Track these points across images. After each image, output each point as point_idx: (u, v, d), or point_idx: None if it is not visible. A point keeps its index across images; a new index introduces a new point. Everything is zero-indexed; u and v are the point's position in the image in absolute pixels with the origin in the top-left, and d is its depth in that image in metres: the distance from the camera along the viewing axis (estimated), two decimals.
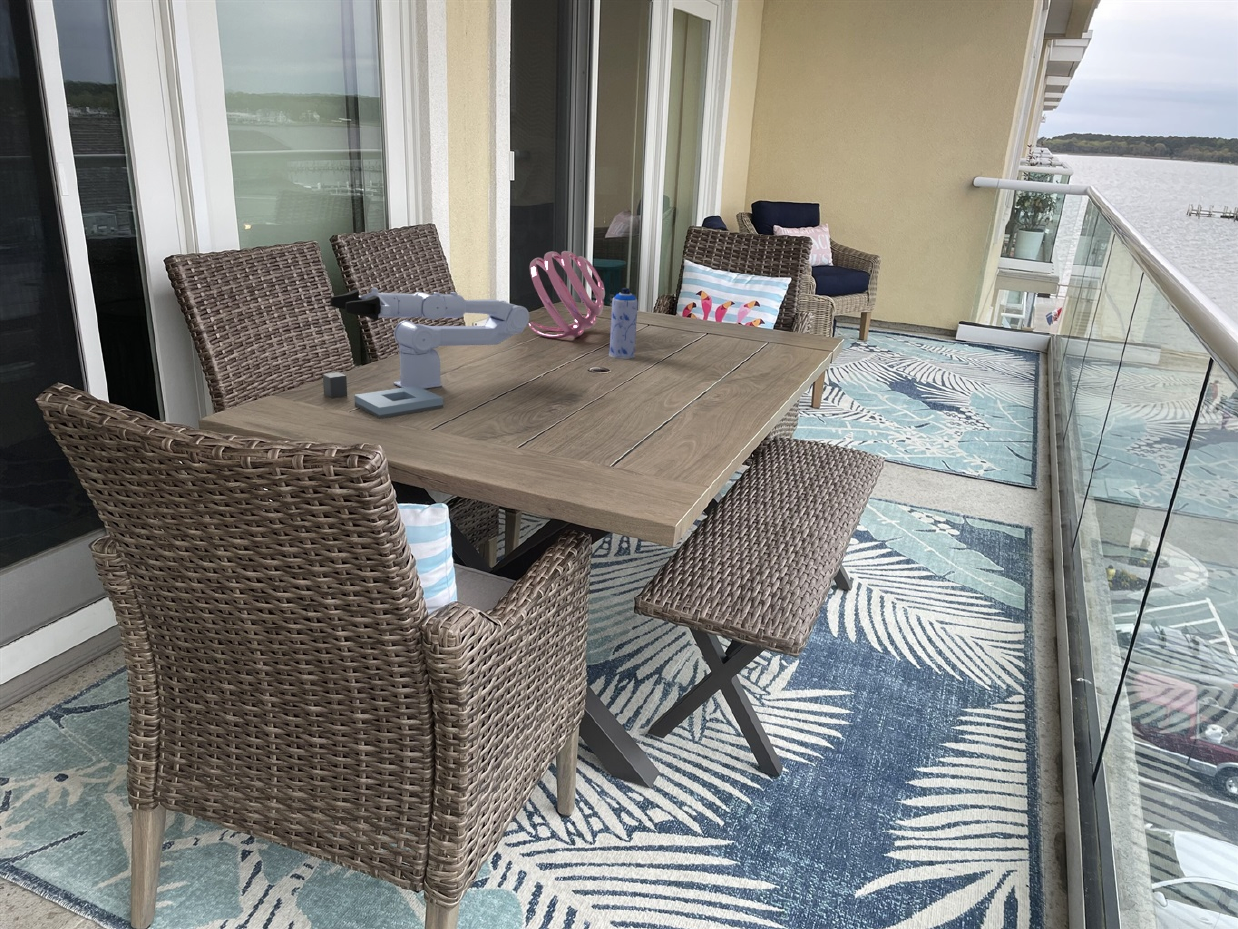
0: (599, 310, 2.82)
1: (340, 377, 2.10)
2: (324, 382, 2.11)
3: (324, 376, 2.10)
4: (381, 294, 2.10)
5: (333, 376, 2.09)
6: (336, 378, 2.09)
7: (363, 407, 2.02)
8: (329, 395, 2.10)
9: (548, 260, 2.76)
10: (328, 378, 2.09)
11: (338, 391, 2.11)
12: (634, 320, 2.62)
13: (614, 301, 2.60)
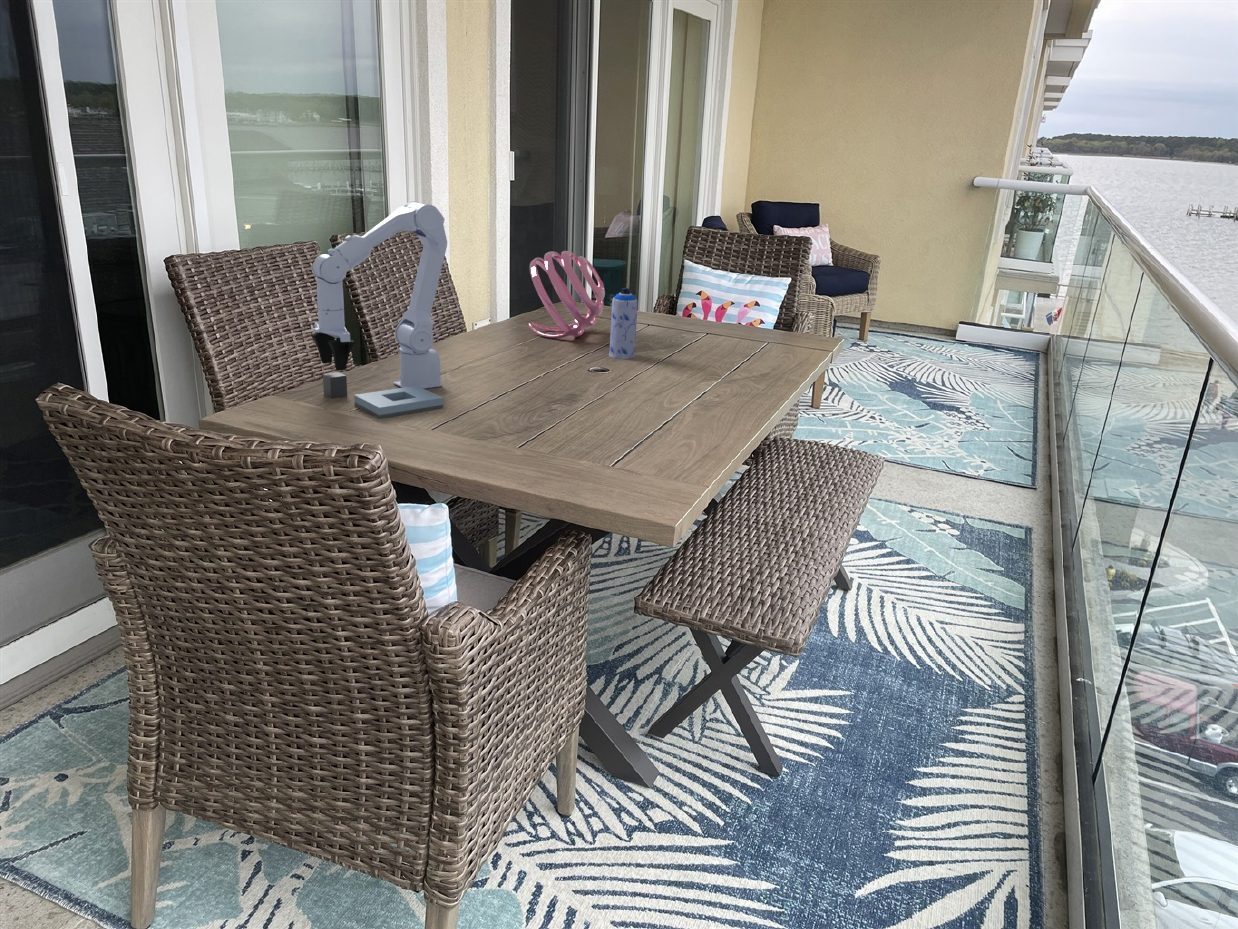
0: (599, 310, 2.82)
1: (340, 377, 2.10)
2: (324, 382, 2.11)
3: (324, 376, 2.10)
4: (322, 325, 2.04)
5: (333, 376, 2.09)
6: (336, 378, 2.09)
7: (363, 407, 2.02)
8: (329, 395, 2.10)
9: (548, 260, 2.76)
10: (328, 378, 2.09)
11: (338, 391, 2.11)
12: (634, 320, 2.62)
13: (614, 301, 2.60)
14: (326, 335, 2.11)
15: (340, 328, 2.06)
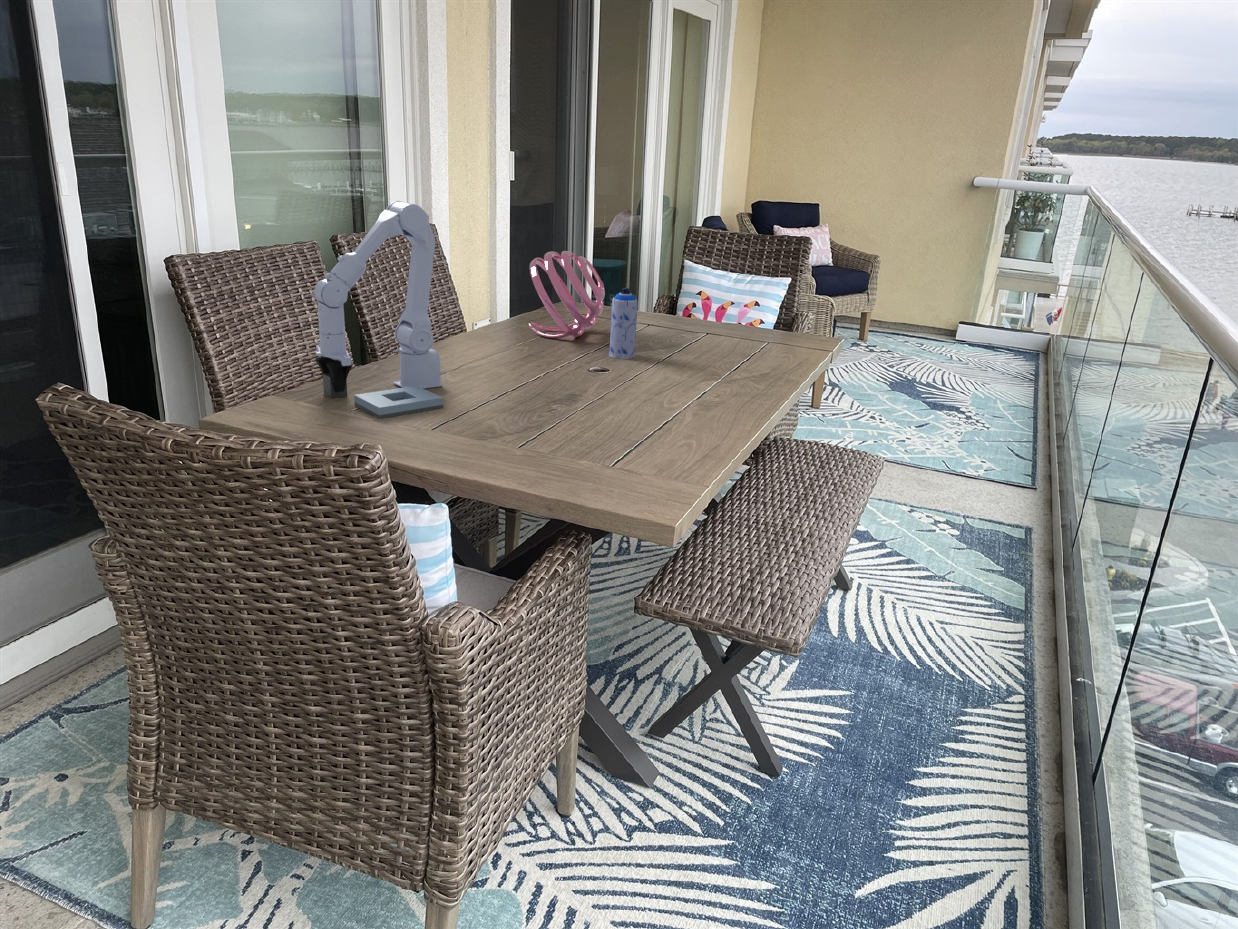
0: (599, 310, 2.82)
1: None
2: (324, 382, 2.11)
3: (324, 376, 2.10)
4: (323, 349, 2.06)
5: None
6: None
7: (363, 407, 2.02)
8: (329, 395, 2.10)
9: (548, 260, 2.76)
10: (328, 378, 2.09)
11: None
12: (634, 320, 2.62)
13: (614, 301, 2.60)
14: (330, 359, 2.11)
15: (341, 352, 2.08)
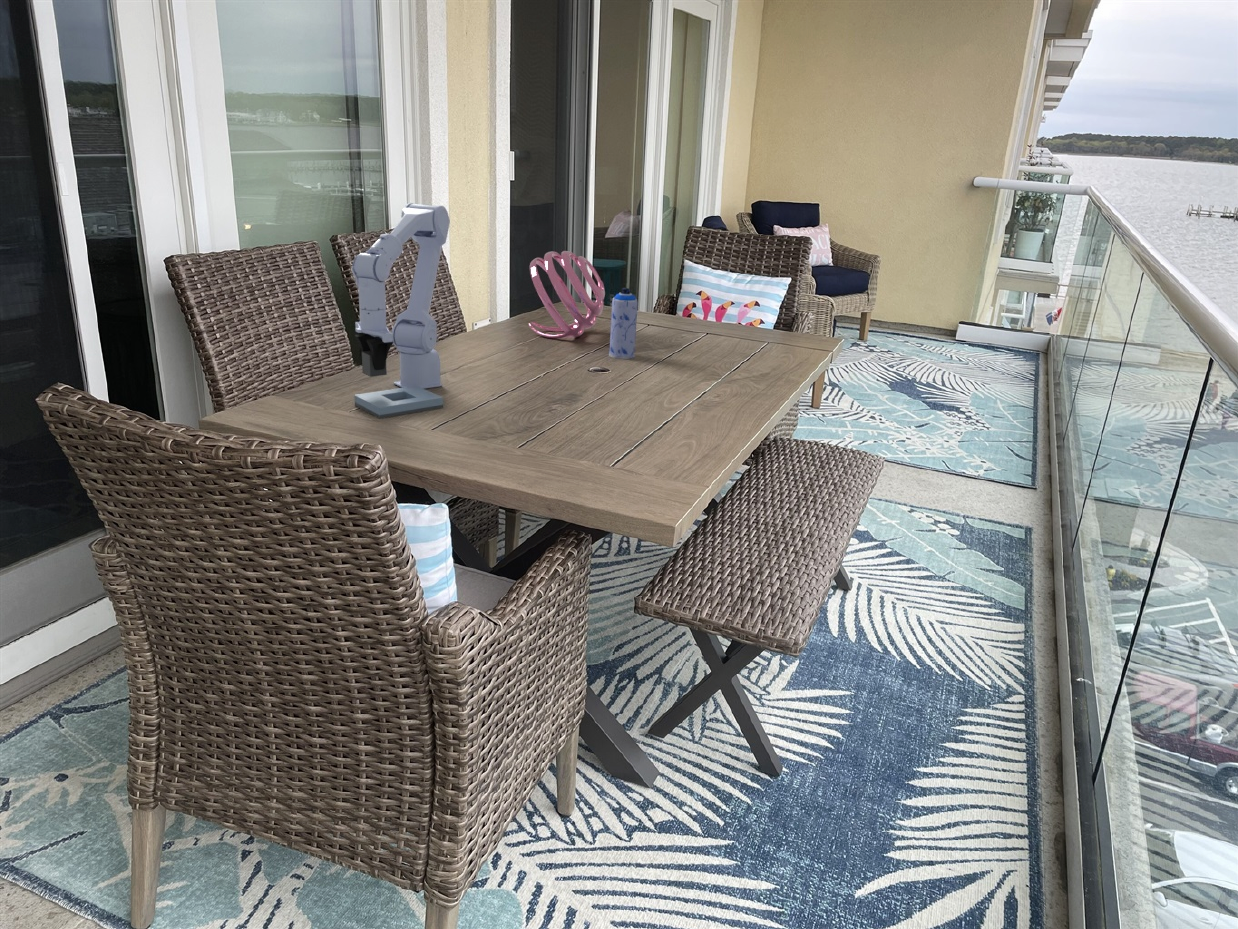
0: (599, 310, 2.82)
1: None
2: (363, 360, 2.05)
3: (363, 354, 2.04)
4: (364, 325, 2.00)
5: None
6: None
7: (363, 407, 2.02)
8: (368, 373, 2.04)
9: (548, 260, 2.76)
10: (367, 356, 2.03)
11: None
12: (634, 320, 2.62)
13: (614, 301, 2.60)
14: (370, 336, 2.05)
15: (382, 328, 2.01)
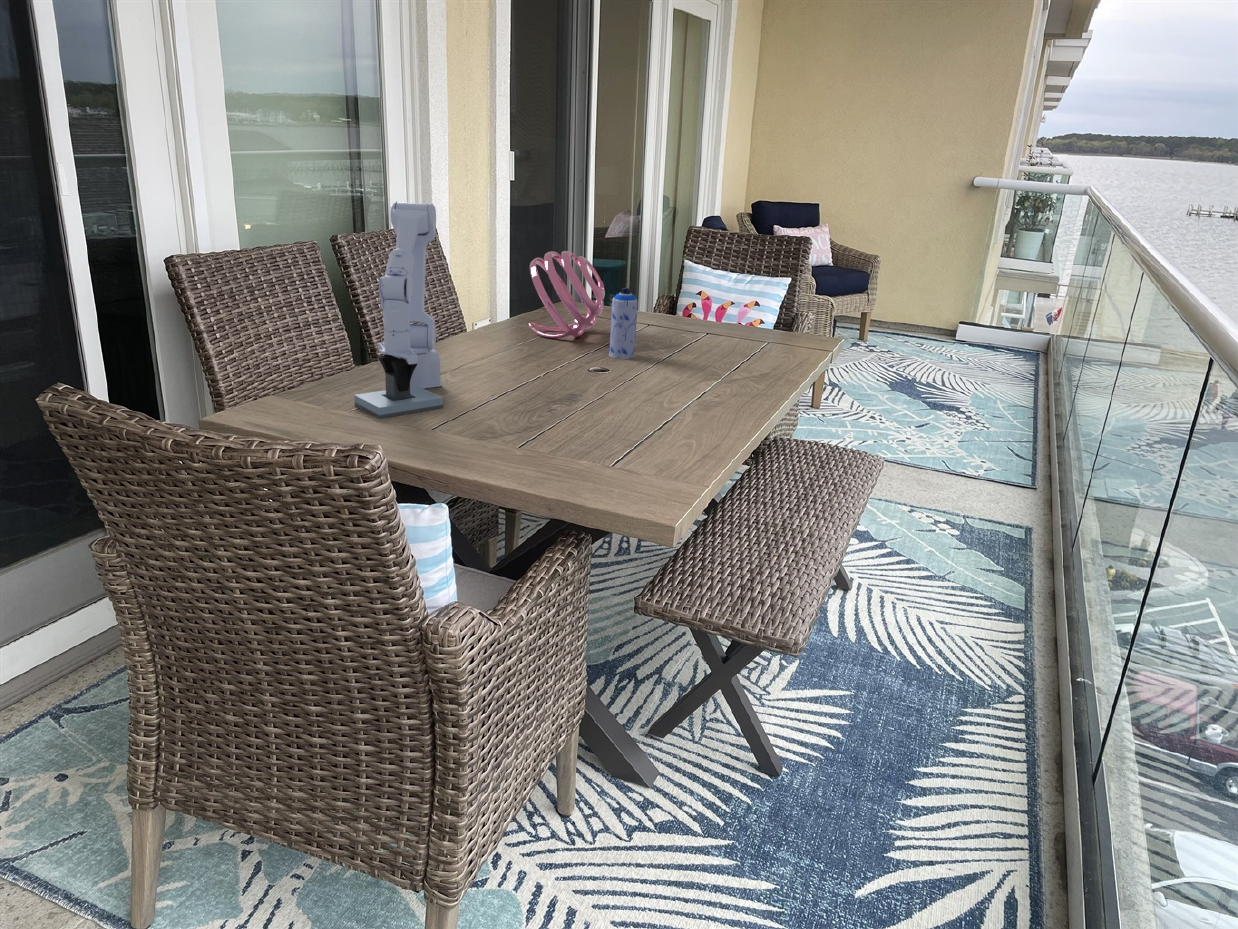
0: (599, 310, 2.82)
1: None
2: (387, 381, 2.04)
3: (387, 375, 2.03)
4: (388, 347, 1.99)
5: None
6: None
7: (363, 407, 2.02)
8: (392, 395, 2.03)
9: (548, 260, 2.76)
10: (391, 377, 2.02)
11: None
12: (634, 320, 2.62)
13: (614, 301, 2.60)
14: (394, 358, 2.04)
15: (406, 350, 2.00)
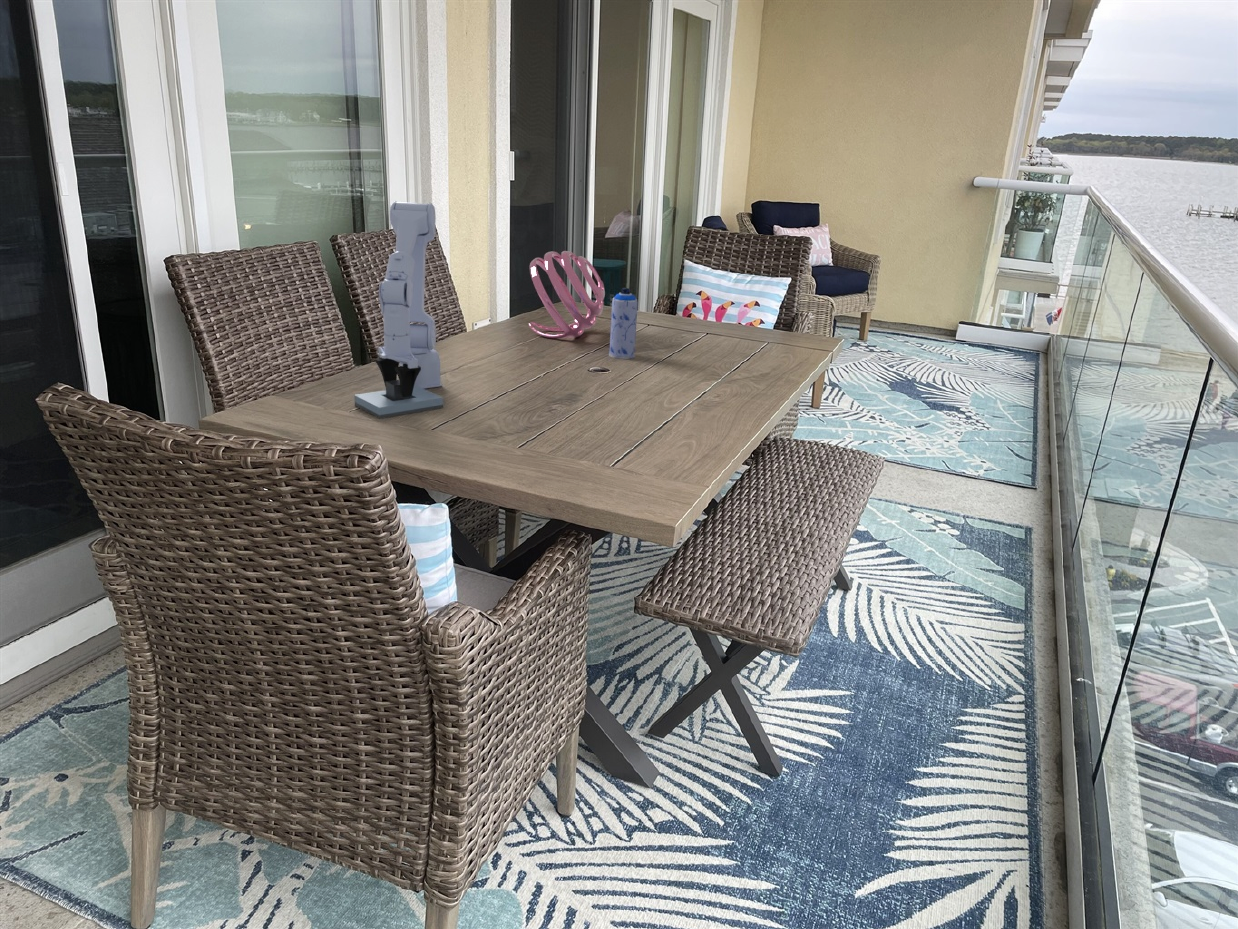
0: (599, 310, 2.82)
1: None
2: (387, 390, 2.05)
3: (387, 383, 2.04)
4: (388, 351, 2.00)
5: (397, 384, 2.03)
6: None
7: (363, 407, 2.02)
8: None
9: (548, 260, 2.76)
10: (392, 386, 2.03)
11: (401, 399, 2.04)
12: (634, 320, 2.62)
13: (614, 301, 2.60)
14: (390, 360, 2.06)
15: (406, 354, 2.01)
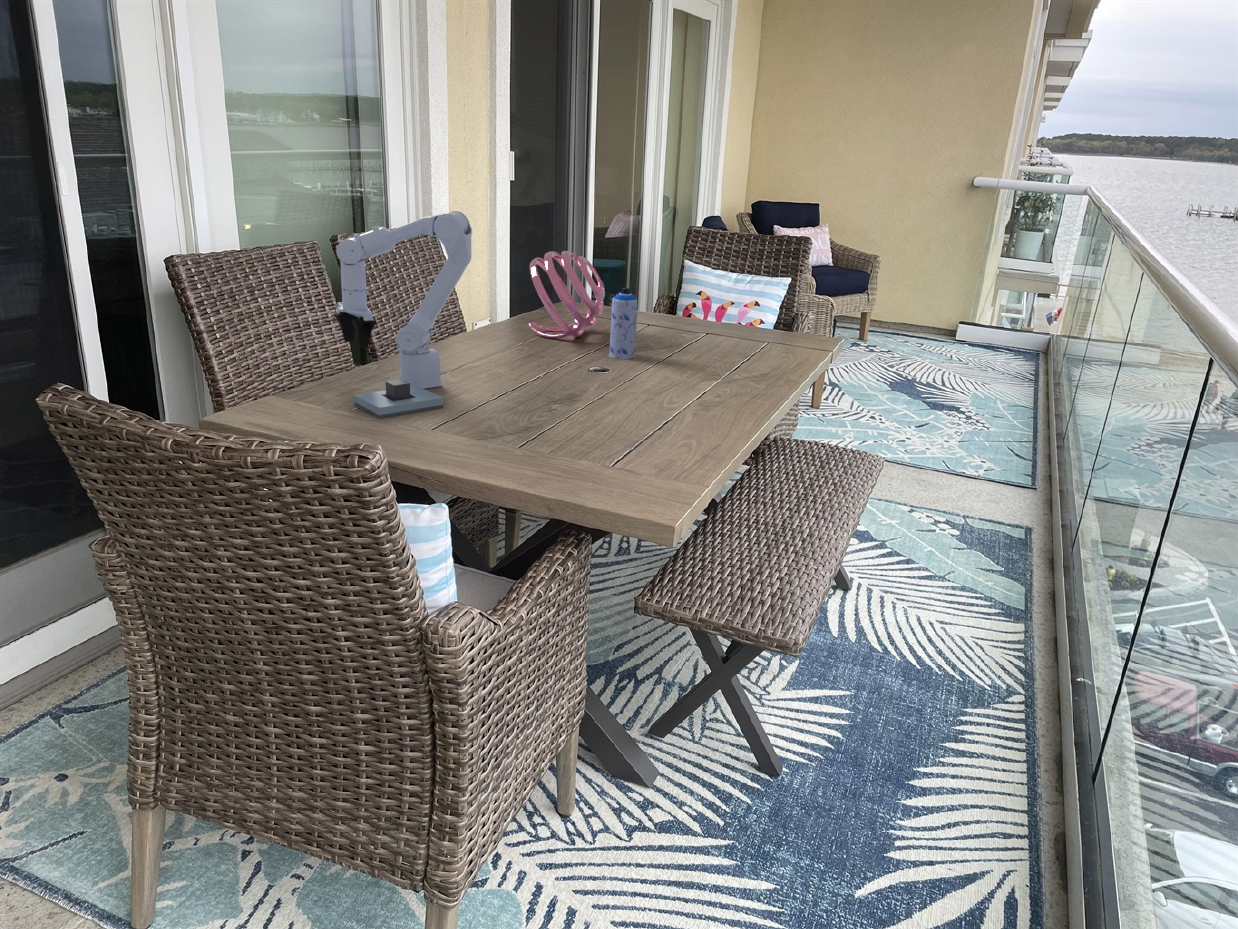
0: (599, 310, 2.82)
1: (404, 384, 2.04)
2: (387, 390, 2.05)
3: (387, 383, 2.04)
4: (346, 305, 2.16)
5: (397, 384, 2.03)
6: (400, 386, 2.03)
7: (363, 407, 2.02)
8: None
9: (548, 260, 2.76)
10: (392, 386, 2.03)
11: (401, 399, 2.04)
12: (634, 320, 2.62)
13: (614, 301, 2.60)
14: (349, 315, 2.22)
15: (363, 308, 2.17)
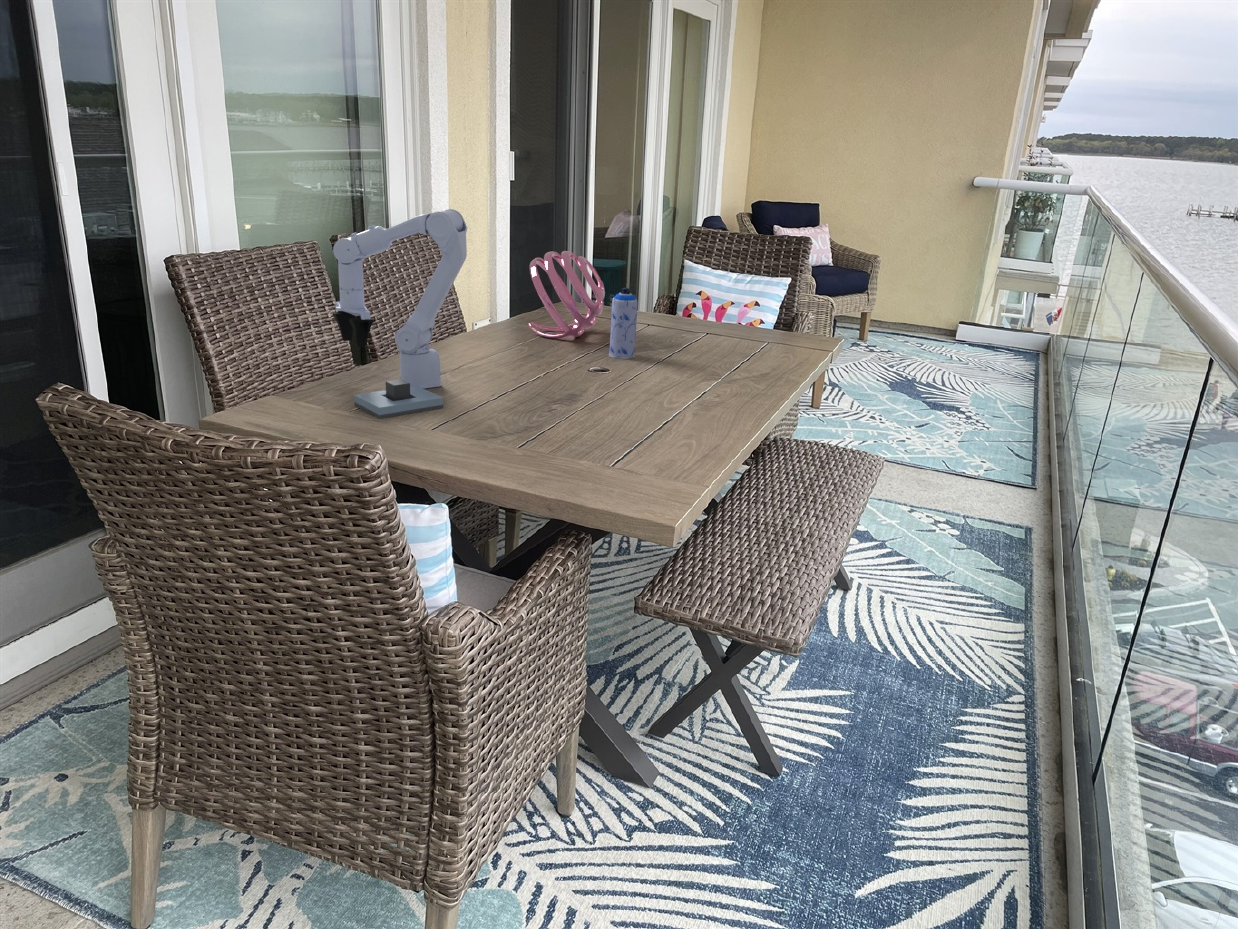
0: (599, 310, 2.82)
1: (404, 384, 2.04)
2: (387, 390, 2.05)
3: (387, 383, 2.04)
4: (343, 304, 2.17)
5: (397, 384, 2.03)
6: (400, 386, 2.03)
7: (363, 407, 2.02)
8: None
9: (548, 260, 2.76)
10: (392, 386, 2.03)
11: (401, 399, 2.04)
12: (634, 320, 2.62)
13: (614, 301, 2.60)
14: (347, 314, 2.23)
15: (360, 307, 2.18)
